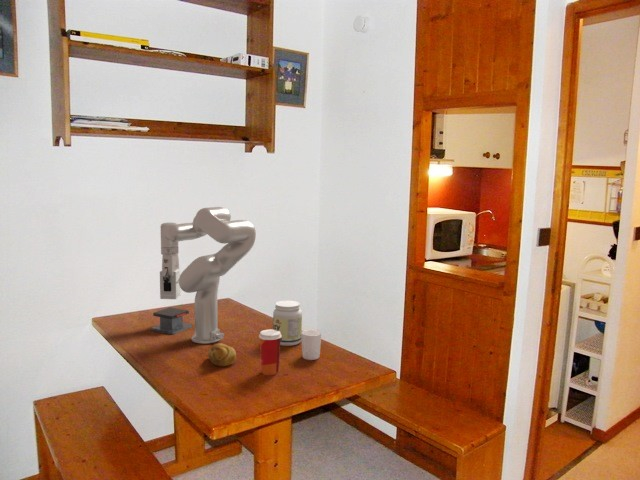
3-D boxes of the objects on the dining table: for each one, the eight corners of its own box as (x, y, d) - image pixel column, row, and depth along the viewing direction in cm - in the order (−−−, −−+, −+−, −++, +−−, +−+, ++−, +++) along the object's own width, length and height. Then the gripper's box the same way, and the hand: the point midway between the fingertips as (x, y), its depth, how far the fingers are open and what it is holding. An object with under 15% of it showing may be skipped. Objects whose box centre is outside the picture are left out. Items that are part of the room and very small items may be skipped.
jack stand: (192, 327, 241) (191, 310, 240) (172, 334, 230) (172, 317, 229) (170, 322, 247) (170, 306, 246) (150, 330, 235) (149, 313, 234)
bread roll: (203, 359, 202) (203, 339, 201) (227, 354, 207) (226, 335, 206) (215, 370, 191) (215, 349, 190) (240, 365, 196) (240, 344, 195)
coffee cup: (269, 366, 196) (270, 327, 194) (286, 371, 191) (286, 332, 189) (253, 372, 189) (253, 332, 187) (269, 378, 184) (269, 337, 182)
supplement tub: (268, 339, 226) (268, 301, 224) (294, 335, 231) (294, 298, 229) (279, 348, 215) (280, 308, 213) (306, 344, 221) (307, 305, 218)
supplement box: (176, 299, 233) (175, 271, 231) (159, 299, 233) (159, 271, 231) (181, 295, 240) (180, 268, 238) (165, 295, 240) (164, 268, 238)
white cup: (303, 361, 201) (304, 336, 200) (298, 354, 209) (299, 330, 207) (323, 359, 203) (323, 334, 202) (318, 352, 211) (318, 328, 210)
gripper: (171, 253, 225) (172, 294, 227) (184, 247, 242) (184, 285, 244) (154, 253, 225) (155, 293, 227) (168, 247, 242) (168, 284, 245)
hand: (170, 288), depth 236 cm, fingers closed on supplement box, 7 cm apart
